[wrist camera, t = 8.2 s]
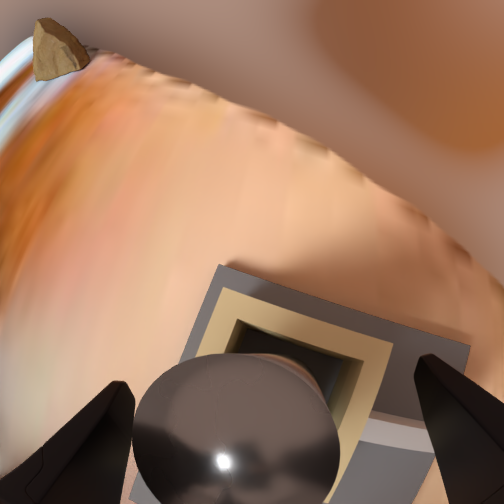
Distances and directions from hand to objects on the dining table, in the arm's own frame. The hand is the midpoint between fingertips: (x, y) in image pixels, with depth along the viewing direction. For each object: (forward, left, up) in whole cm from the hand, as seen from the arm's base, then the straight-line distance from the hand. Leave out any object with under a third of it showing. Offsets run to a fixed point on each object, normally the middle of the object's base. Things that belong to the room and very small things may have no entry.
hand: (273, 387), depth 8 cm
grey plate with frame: (-4, -4, -12) cm, 13 cm away
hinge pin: (-1, -1, -10) cm, 10 cm away
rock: (+25, +41, -12) cm, 50 cm away
